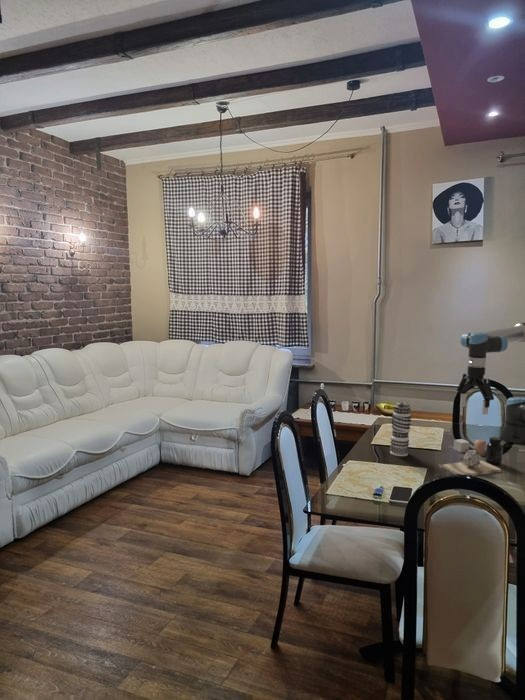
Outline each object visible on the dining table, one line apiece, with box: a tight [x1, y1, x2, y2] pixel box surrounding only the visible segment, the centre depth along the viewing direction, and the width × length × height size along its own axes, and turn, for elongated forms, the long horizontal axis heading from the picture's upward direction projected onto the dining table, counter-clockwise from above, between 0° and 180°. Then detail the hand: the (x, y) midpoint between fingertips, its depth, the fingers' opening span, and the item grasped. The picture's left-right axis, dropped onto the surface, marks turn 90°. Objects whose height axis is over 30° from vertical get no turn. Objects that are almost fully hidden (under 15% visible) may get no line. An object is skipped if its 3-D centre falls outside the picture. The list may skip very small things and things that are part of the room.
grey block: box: [453, 438, 470, 453], centre depth 245 cm, size 5×5×5 cm
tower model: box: [389, 401, 412, 457], centre depth 236 cm, size 9×9×25 cm
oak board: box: [441, 459, 502, 477], centre depth 220 cm, size 22×12×1 cm, turn 110°
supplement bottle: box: [485, 436, 504, 467], centre depth 227 cm, size 7×7×12 cm
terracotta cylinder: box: [473, 439, 487, 458], centre depth 238 cm, size 5×5×7 cm
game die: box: [460, 447, 485, 468], centre depth 219 cm, size 9×8×10 cm
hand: (473, 410), depth 233 cm, fingers open, 13 cm apart
